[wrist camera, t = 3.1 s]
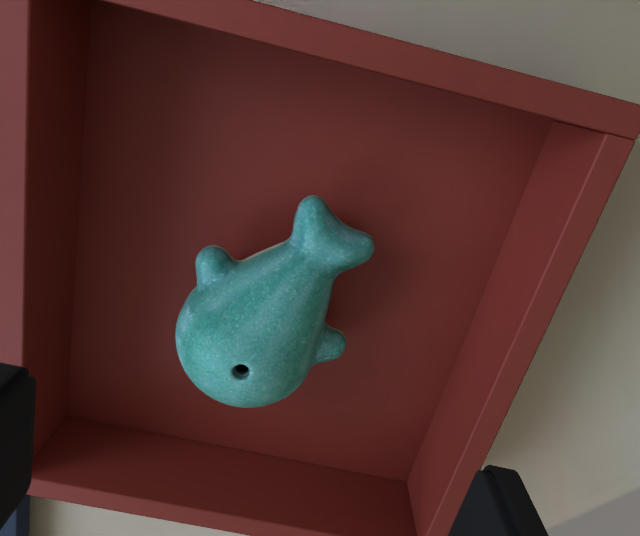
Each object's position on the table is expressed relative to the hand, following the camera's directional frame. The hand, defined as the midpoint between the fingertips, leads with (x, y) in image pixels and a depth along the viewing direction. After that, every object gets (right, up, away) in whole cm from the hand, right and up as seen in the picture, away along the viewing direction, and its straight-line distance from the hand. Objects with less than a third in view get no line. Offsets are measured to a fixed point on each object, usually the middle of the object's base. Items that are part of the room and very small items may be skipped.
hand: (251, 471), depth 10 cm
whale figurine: (0, +4, +7) cm, 8 cm away
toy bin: (0, +4, +7) cm, 8 cm away
